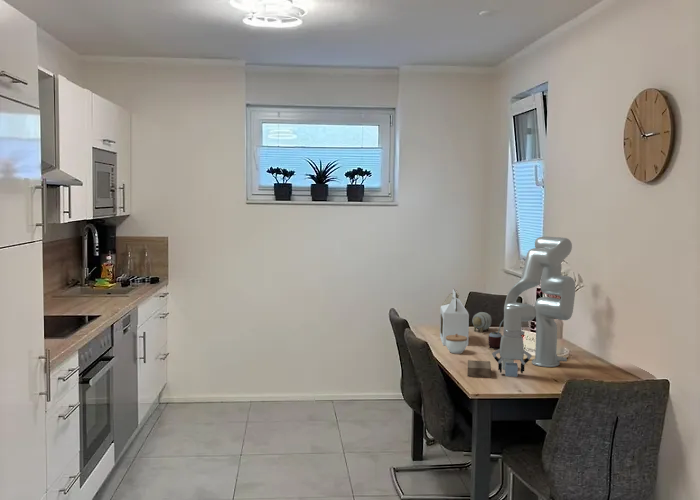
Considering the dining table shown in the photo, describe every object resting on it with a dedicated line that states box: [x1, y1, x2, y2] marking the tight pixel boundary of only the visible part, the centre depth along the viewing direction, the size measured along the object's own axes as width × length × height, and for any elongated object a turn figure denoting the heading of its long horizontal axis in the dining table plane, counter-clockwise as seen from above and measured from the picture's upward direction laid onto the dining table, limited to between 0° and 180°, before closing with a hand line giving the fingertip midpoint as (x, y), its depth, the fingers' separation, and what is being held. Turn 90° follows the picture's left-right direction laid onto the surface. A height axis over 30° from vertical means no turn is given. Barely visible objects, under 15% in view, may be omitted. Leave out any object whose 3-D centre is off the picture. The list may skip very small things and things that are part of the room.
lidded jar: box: [445, 334, 467, 354], centre depth 332 cm, size 11×11×9 cm
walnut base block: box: [466, 359, 492, 379], centre depth 293 cm, size 10×13×4 cm
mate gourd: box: [488, 319, 504, 351], centre depth 341 cm, size 8×8×15 cm
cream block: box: [501, 359, 515, 371], centre depth 301 cm, size 5×5×5 cm
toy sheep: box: [472, 311, 493, 333], centre depth 385 cm, size 11×17×11 cm, turn 141°
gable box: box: [439, 288, 470, 347], centre depth 356 cm, size 22×13×28 cm, turn 177°
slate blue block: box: [504, 362, 519, 378], centre depth 290 cm, size 5×5×5 cm
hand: (511, 372), depth 290 cm, fingers open, 8 cm apart
